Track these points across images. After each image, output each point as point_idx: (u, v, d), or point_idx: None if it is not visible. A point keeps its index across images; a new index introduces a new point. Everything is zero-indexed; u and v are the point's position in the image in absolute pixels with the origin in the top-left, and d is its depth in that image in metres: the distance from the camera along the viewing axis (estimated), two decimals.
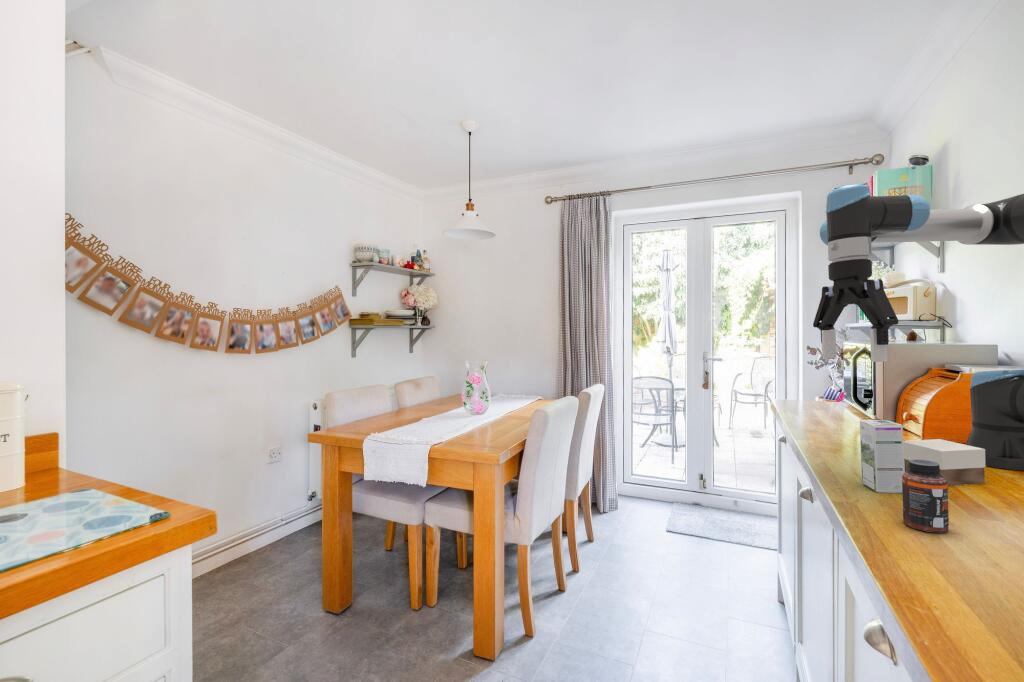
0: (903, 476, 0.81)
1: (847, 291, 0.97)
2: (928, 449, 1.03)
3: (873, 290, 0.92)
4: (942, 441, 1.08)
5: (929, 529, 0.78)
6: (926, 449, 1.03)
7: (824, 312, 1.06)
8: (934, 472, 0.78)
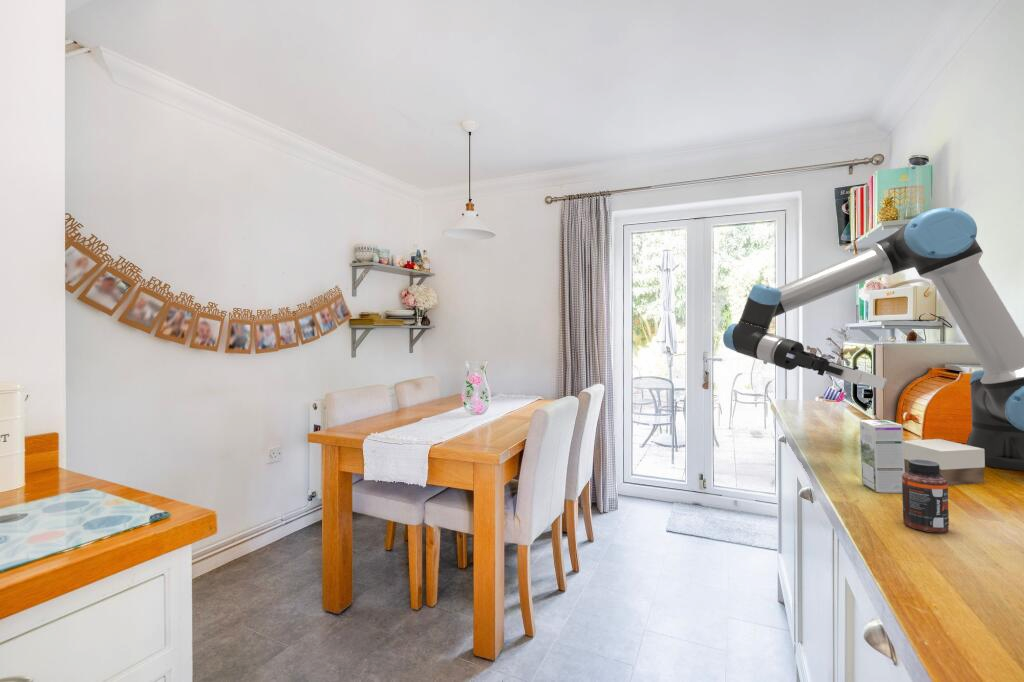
0: (903, 476, 0.81)
1: (800, 366, 1.15)
2: (928, 449, 1.03)
3: (792, 361, 1.11)
4: (941, 441, 1.08)
5: (929, 529, 0.78)
6: (925, 450, 1.04)
7: None
8: (934, 472, 0.78)
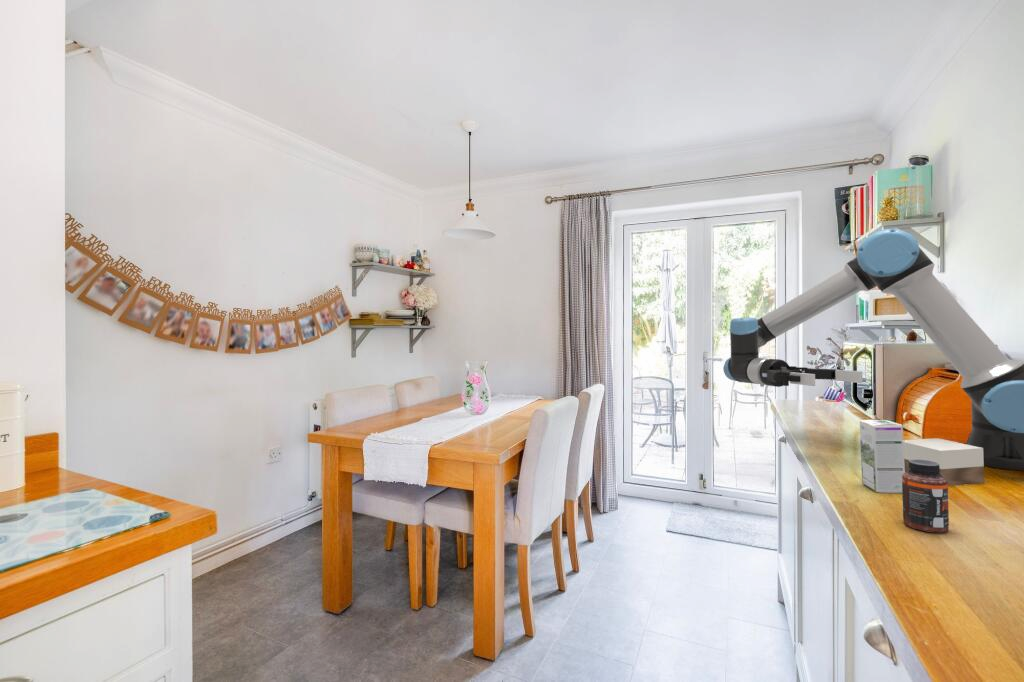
0: (903, 476, 0.81)
1: None
2: (927, 449, 1.03)
3: (767, 379, 1.21)
4: (940, 440, 1.08)
5: (929, 529, 0.78)
6: (925, 449, 1.04)
7: None
8: (934, 472, 0.78)
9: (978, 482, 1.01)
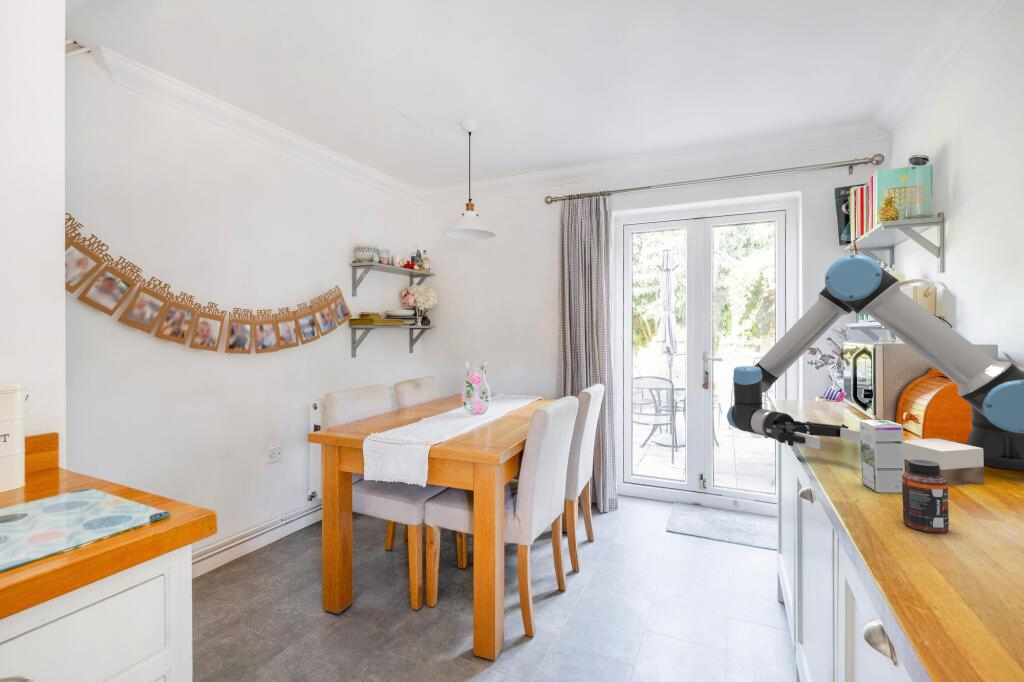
0: (903, 476, 0.81)
1: None
2: (928, 449, 1.03)
3: (771, 435, 1.21)
4: (940, 440, 1.08)
5: (929, 529, 0.78)
6: (925, 450, 1.03)
7: None
8: (934, 472, 0.78)
9: (978, 483, 1.01)
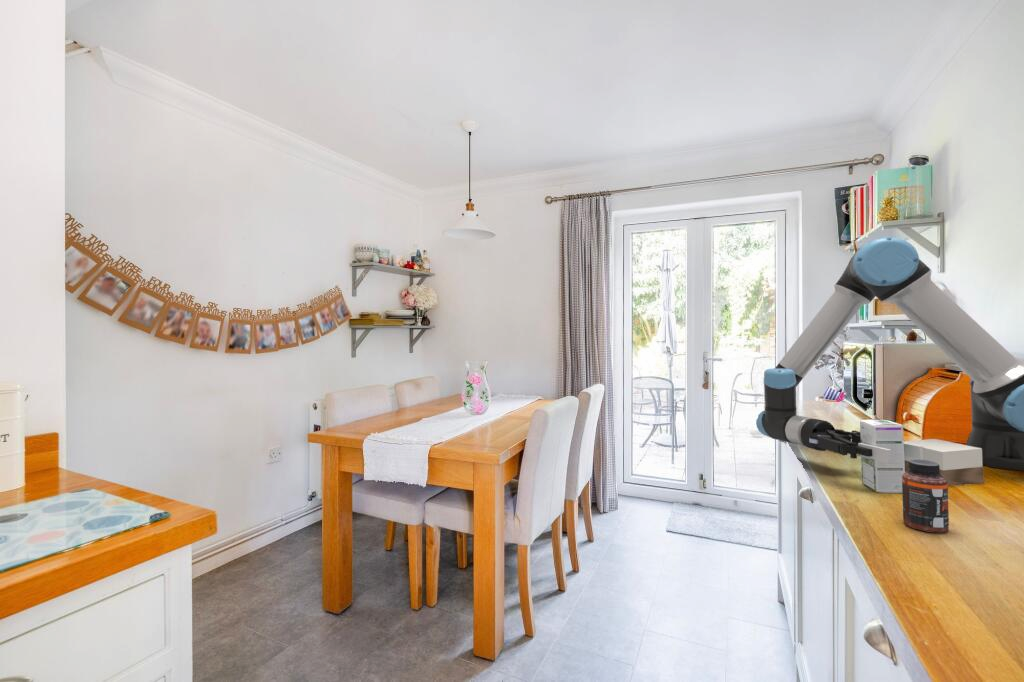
0: (903, 476, 0.81)
1: None
2: (928, 450, 1.03)
3: (818, 446, 1.08)
4: (938, 441, 1.08)
5: (929, 529, 0.78)
6: (926, 450, 1.03)
7: None
8: (934, 472, 0.78)
9: (978, 483, 1.01)
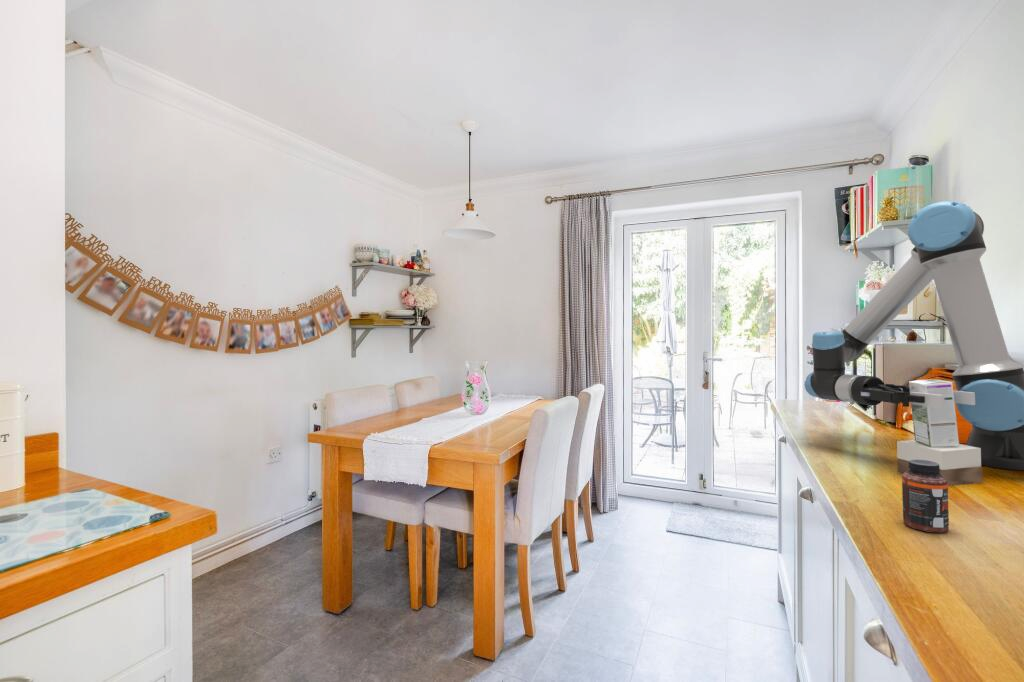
0: (903, 476, 0.81)
1: None
2: (927, 449, 1.03)
3: (870, 398, 1.14)
4: None
5: (929, 529, 0.78)
6: (925, 450, 1.03)
7: None
8: (934, 472, 0.78)
9: (976, 482, 1.01)
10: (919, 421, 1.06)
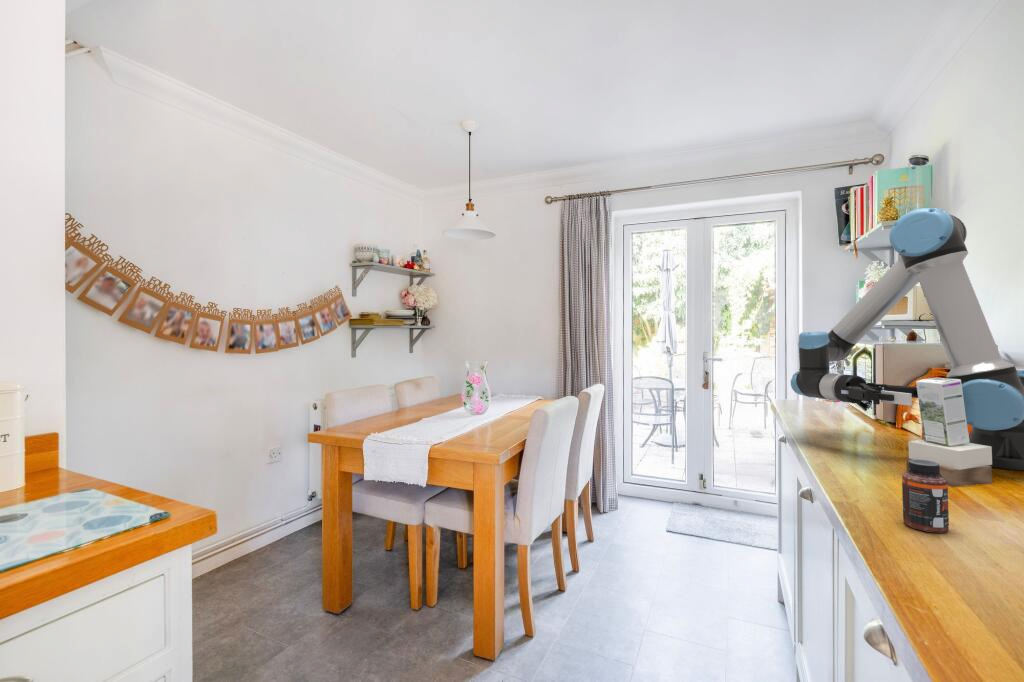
0: (903, 476, 0.81)
1: None
2: (943, 449, 1.02)
3: (848, 396, 1.19)
4: None
5: (929, 529, 0.78)
6: (940, 450, 1.03)
7: None
8: (934, 472, 0.78)
9: (986, 482, 1.01)
10: (931, 421, 1.06)
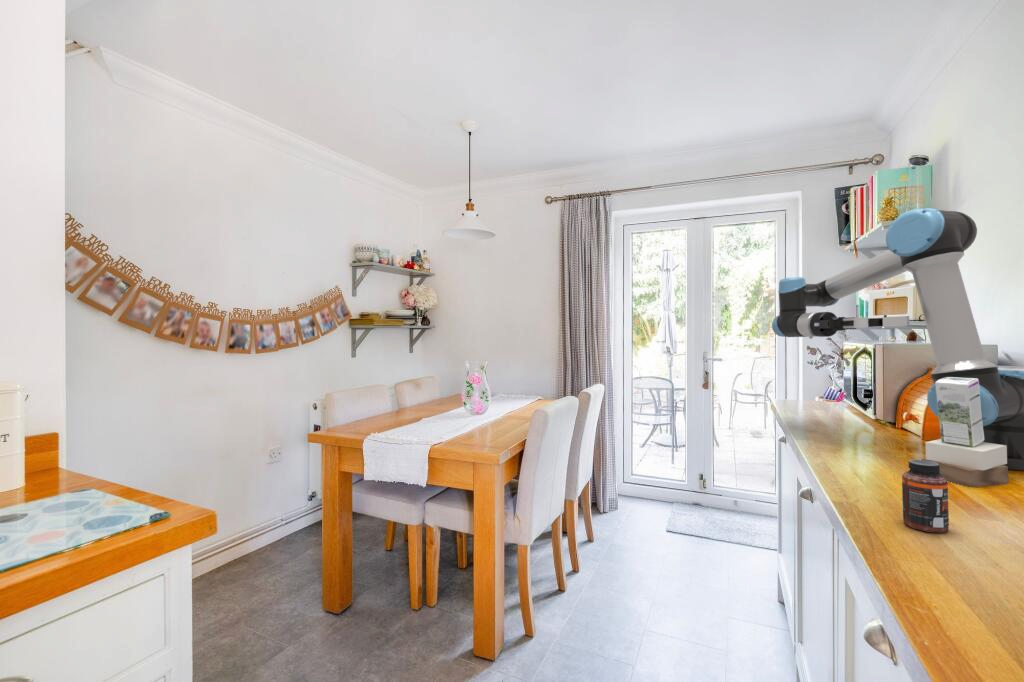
0: (903, 476, 0.81)
1: (833, 330, 1.36)
2: (964, 450, 1.01)
3: (819, 327, 1.34)
4: None
5: (929, 529, 0.78)
6: (961, 450, 1.01)
7: None
8: (934, 472, 0.78)
9: (1003, 482, 1.00)
10: (953, 422, 1.03)
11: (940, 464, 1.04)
